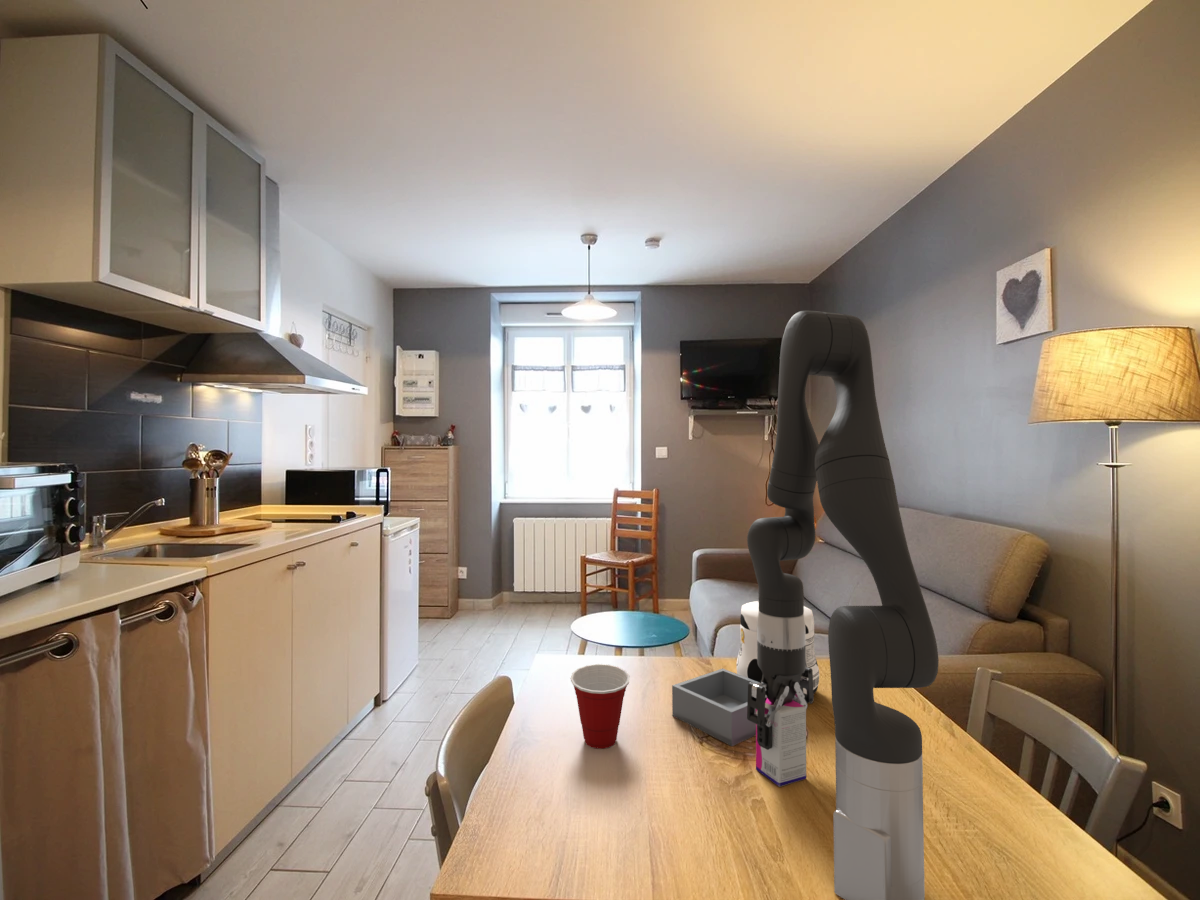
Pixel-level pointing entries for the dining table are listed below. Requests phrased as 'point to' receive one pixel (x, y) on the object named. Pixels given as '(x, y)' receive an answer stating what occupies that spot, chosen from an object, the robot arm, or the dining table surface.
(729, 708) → the box
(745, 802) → the dining table surface
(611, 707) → the plastic cup
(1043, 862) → the dining table surface
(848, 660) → the robot arm
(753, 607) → the milk container
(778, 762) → the supplement box
